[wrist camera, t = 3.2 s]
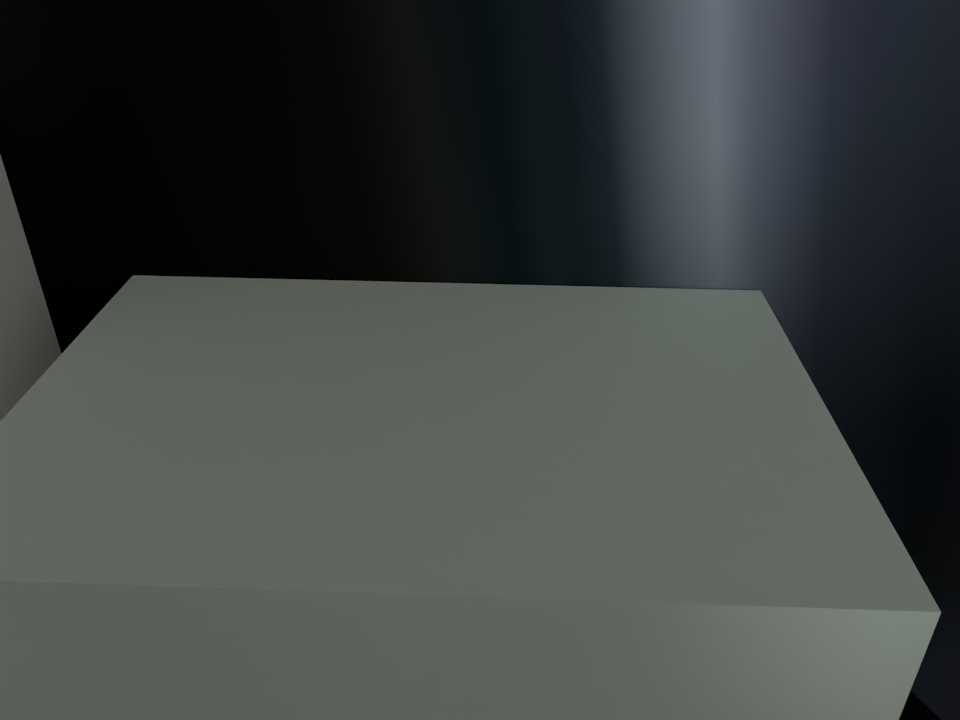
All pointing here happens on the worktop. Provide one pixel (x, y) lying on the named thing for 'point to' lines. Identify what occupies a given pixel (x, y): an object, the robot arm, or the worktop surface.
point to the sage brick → (442, 513)
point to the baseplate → (20, 309)
